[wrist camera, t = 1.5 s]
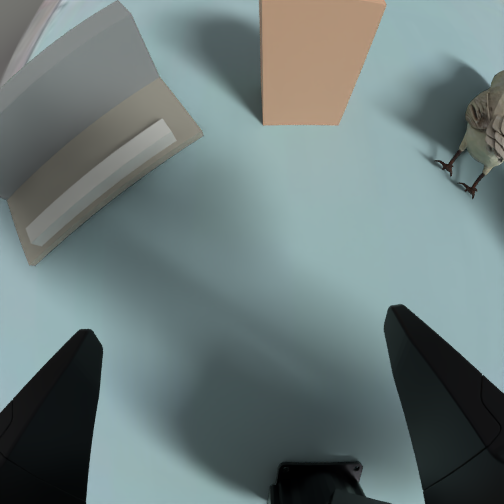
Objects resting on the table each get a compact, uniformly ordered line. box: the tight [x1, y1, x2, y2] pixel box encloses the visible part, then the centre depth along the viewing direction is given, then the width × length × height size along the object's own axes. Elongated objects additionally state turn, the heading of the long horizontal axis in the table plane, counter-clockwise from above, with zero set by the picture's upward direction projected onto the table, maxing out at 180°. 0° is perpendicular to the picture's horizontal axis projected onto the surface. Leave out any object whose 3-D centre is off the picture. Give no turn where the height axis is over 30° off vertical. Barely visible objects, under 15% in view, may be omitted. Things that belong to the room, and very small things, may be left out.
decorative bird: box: [435, 71, 504, 199], centre depth 20 cm, size 5×16×8 cm, turn 140°
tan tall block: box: [259, 0, 386, 125], centre depth 17 cm, size 4×6×15 cm, turn 92°
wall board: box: [0, 0, 204, 266], centre depth 20 cm, size 11×18×9 cm, turn 125°
